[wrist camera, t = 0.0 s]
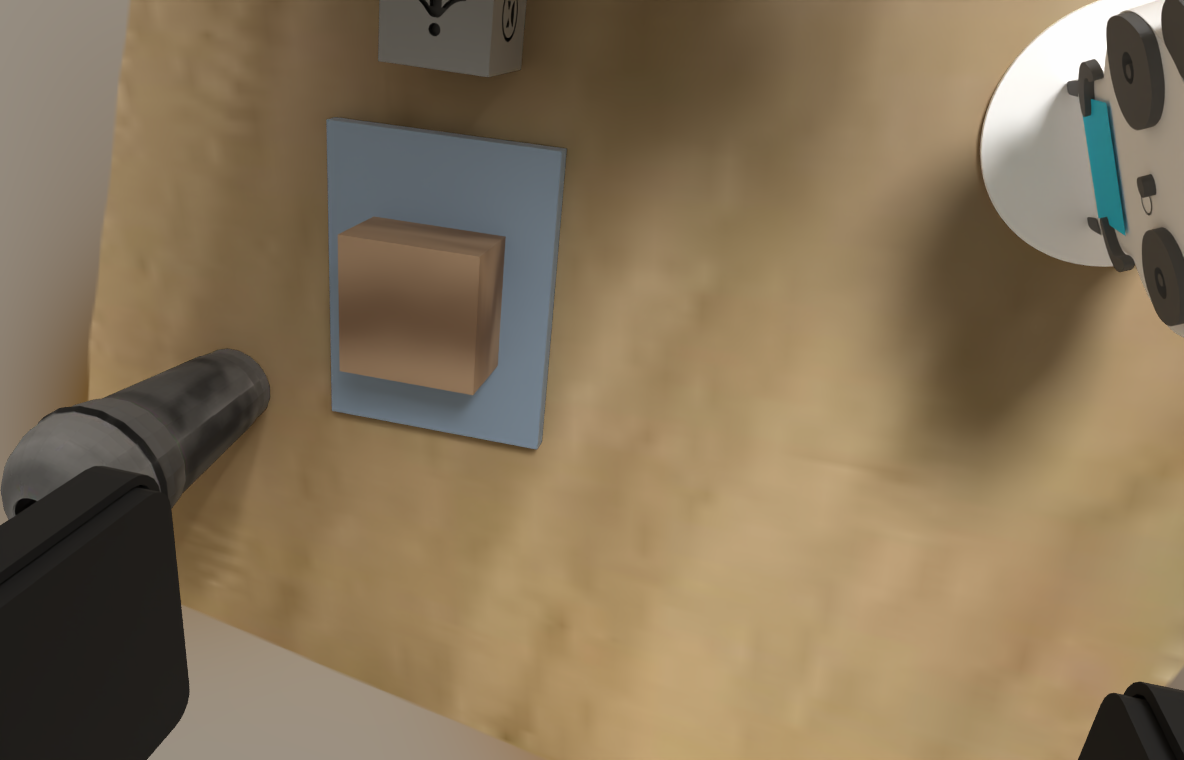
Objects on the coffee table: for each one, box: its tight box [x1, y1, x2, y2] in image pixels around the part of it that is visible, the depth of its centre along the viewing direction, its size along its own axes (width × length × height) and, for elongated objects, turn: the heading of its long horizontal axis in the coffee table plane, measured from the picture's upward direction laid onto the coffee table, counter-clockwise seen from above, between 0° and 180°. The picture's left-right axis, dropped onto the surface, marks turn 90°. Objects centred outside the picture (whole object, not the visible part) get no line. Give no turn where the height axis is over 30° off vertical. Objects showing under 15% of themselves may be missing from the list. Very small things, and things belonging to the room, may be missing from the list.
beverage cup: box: [1, 349, 270, 519], centre depth 44 cm, size 7×7×20 cm
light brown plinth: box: [338, 216, 506, 395], centre depth 46 cm, size 7×7×4 cm
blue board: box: [326, 117, 567, 449], centre depth 48 cm, size 16×12×1 cm
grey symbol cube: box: [378, 0, 527, 77], centre depth 40 cm, size 5×5×5 cm
